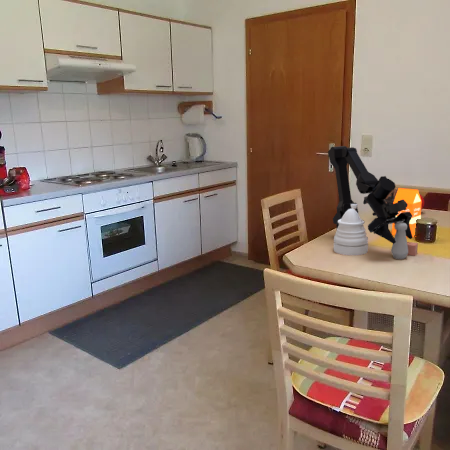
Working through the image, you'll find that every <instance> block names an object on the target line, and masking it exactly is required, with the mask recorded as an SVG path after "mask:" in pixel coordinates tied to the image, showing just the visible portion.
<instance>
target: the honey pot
mask: <svg viewBox="0 0 450 450" xmlns="http://www.w3.org/2000/svg"><path fill="white" fill-rule="evenodd" d="M351 208H352V209H348V210H347V211H346V212H345V214H344V215H343V217H342V219H340V220H338V223H339V226H338V228H337V231H335V234H334V236H333V252H334V253H336V254H338V255H344V256H361V255H365V254H367V253H368V250H369V246H368V245H369V238H368V236H367V231H366V229H365V226H364V224H365V220H364V219H362V218H361V217H360V214H359V212H358V213H357V212H356V210H355V209H356V208H357V209H358V203H357V204H351Z"/></svg>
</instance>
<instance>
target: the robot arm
mask: <svg viewBox="0 0 450 450" xmlns="http://www.w3.org/2000/svg"><path fill="white" fill-rule="evenodd" d="M327 156H328V158H329V162H330V164H331V165H332V166H333V168H334V172H335V178H336V185H337V187H336V188H337V193H338V203H337V206H336V213H335V214H334V216H333V218H332V222H333V224H334V225H336V228H335V229H336V231H337V228H338V226H339V223H338V220H340V219H342V217H343V215H344V214H345V212H346V211H347V210H348V209H352V208H351V204H358V203H357V202H354V201H353V200H352V195H351V187H350V181H349V173H348V166H349V167H350V169H351V171H352V172H353V175H354V176H355V178H356V181H355V185H356V188H357V191H358V192H359V193H360V194H362V195H364V194H365V195H366V194H367V196H364V197H363V202H362V203H363V205H369V207H370V209H371V210H372V216H373V217H375V218H374V219H373V220H372V221H371V222H370V223H369V224H367V230H368V231H369V233H373V234H374V235H377V236H379V237H381V238H383V239H385V240H386V241H388V242H389V243H391V244H392V245H393V244H394V243H396V241H395V239H394V237H395V236H394V235H392V231H391V230H390V229H389V225H391V224H392V223H394V224H396V223H398V222H402V223H406V224H407V229H406V230H405V232H406V236H407V237H406V238H408V239H410V240H412V239H413V238H414V237H412V233H411V230H410V225H409V222H410V220H411V217H413V216H412V214H411V213H410V212H408V211H406V212H402V213H400V214H399V212H400V211H402V210H407V209H406V207H407V205H408V204H407V203H406V201H405V200H404V199H403V200H400V201H398V202H397V203H394V204H391V203H388V204H387V202H386V201H385V200H384V199H387V198H388V196H391V195H392V194H391V193H392V191H393V190H394V191H395V189H396V183H395V182H394V181H393V180H392V179H390V178H387V176H386V175H384V176H380V177H379V179H378V178H377V176H375V175H374V173H371V172H369V171H368V169H367V167H366V166H365V164H364V163H363V161H362V158H360V155H359V153H358V149H357V148H356V147H354V146H353V147H347V146H346V145H342V146H341V145H339V146H331V147H330V148H329V149H328V151H327ZM390 194H391V195H390ZM355 210H356V212H357V213H358V214H359V208H358V207H357V208H356V209H355ZM398 214H399V215H398ZM396 215H398V216H397V217H396ZM336 231H335V232H336Z"/></svg>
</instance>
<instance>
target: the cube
mask: <svg viewBox="0 0 450 450" xmlns="http://www.w3.org/2000/svg"><path fill="white" fill-rule="evenodd" d="M418 245H419V243H418V242H412V241H407V246H408V254H407V256H414V257H415V256H416V255H417V254H418Z"/></svg>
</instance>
